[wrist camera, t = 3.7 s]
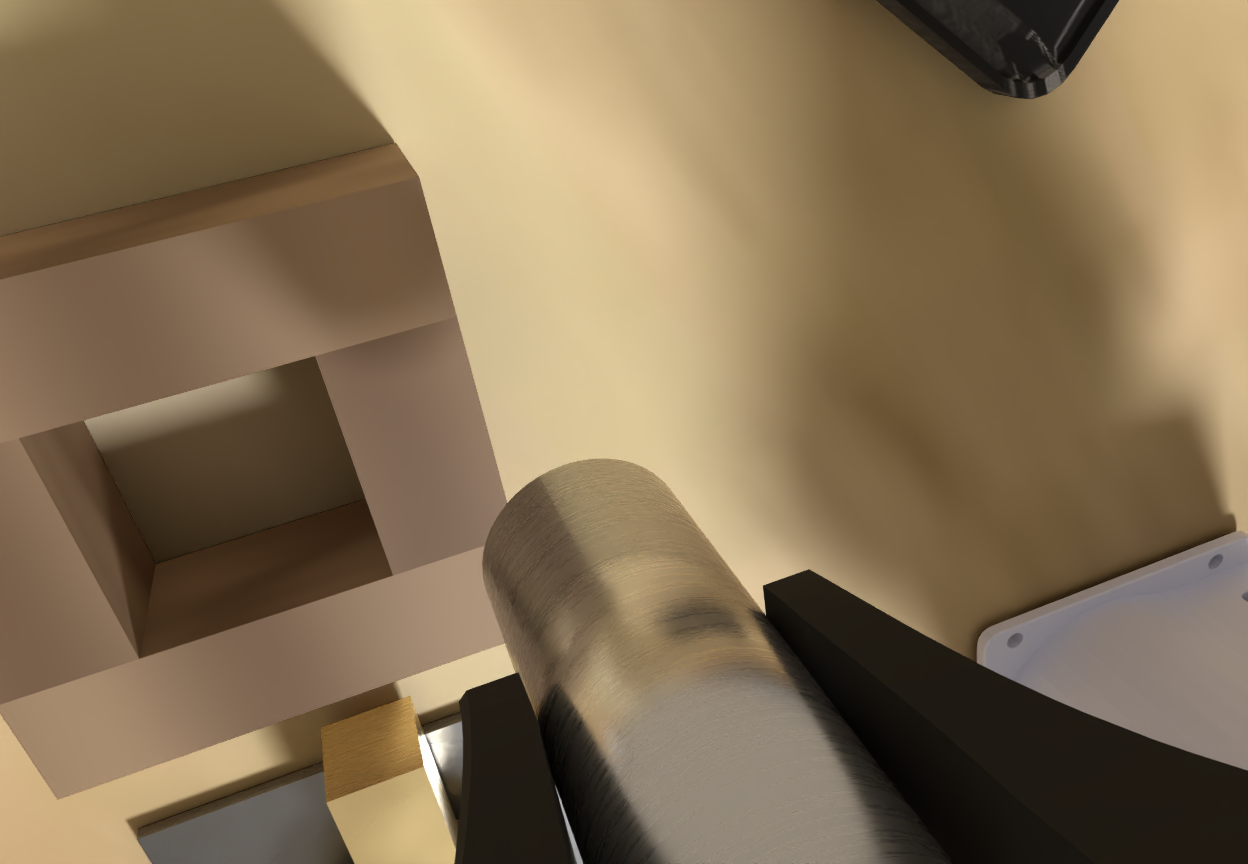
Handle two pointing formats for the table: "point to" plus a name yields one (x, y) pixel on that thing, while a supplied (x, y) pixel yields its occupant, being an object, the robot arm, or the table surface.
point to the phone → (1008, 38)
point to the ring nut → (387, 788)
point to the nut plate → (288, 817)
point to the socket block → (258, 563)
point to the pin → (675, 690)
